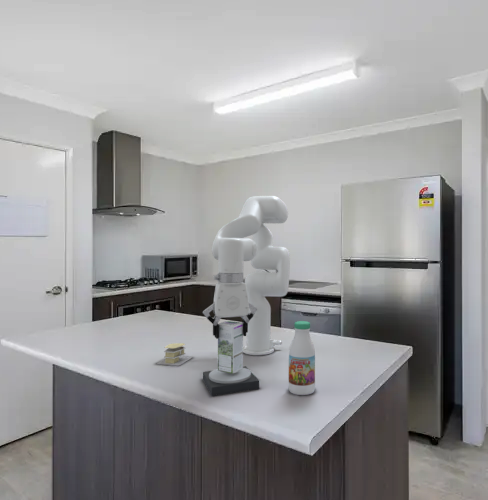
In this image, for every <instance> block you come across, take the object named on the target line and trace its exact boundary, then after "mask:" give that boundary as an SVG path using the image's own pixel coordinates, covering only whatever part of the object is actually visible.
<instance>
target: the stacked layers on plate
mask: <svg viewBox="0 0 488 500" xmlns="http://www.w3.org/2000/svg"><path fill="white" fill-rule="evenodd" d="M185 345H186V344H185V343H181V342H179V343H176V342H175V343H169V344H167V345H166V346H164V349H165V350H164V351H163V352H164V354H165V356H164V357H163V358H164V359H162V360H160V361H158V362H156V365H162V366H163V365H165V366H177V367H179V366H181V365H183V364H185V363H186V362H188V361H189V360H191V359H192V358H193V357H192V356H185V355H186V352H185V350H186V347H185Z"/></svg>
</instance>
